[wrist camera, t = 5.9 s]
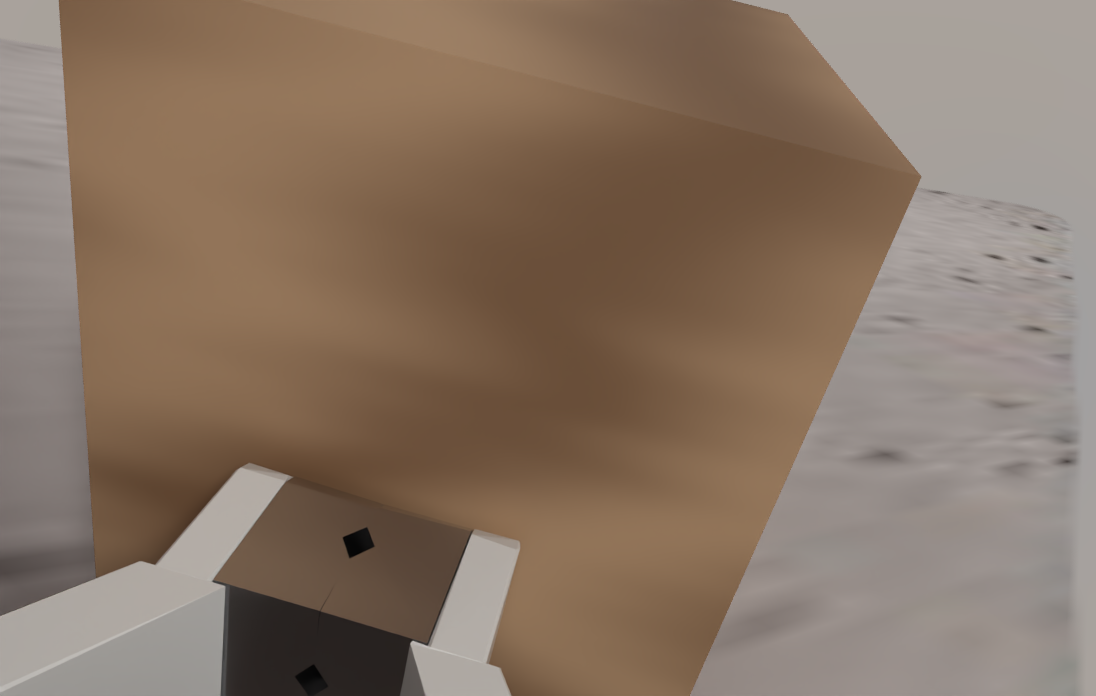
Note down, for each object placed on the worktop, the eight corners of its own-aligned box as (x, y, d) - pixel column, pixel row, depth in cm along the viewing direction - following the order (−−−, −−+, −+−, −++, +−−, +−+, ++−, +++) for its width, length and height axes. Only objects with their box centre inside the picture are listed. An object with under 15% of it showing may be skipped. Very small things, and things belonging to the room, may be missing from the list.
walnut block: (106, 741, 11) (54, -49, 7) (393, 346, 22) (454, -70, 17) (601, 892, 11) (922, 177, 6) (652, 418, 22) (787, 14, 17)
